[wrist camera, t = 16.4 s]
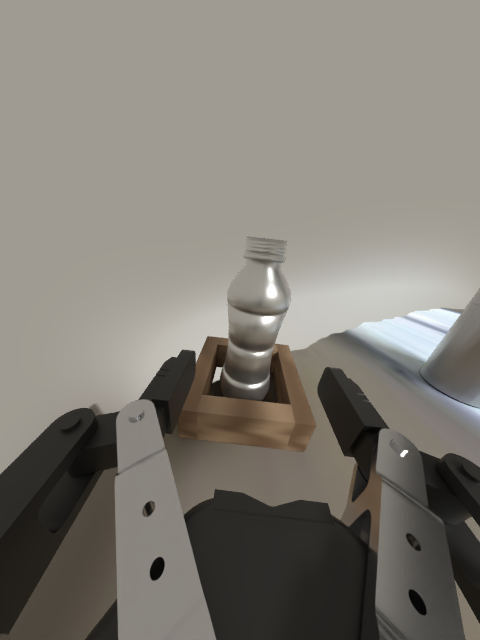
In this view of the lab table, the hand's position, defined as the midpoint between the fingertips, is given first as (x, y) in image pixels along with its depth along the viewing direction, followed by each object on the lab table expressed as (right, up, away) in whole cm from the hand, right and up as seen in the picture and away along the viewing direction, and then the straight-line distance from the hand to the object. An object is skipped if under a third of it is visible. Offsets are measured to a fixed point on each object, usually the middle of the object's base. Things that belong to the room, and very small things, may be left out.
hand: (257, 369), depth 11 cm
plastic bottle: (-1, -8, +14) cm, 16 cm away
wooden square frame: (-1, -7, +14) cm, 16 cm away
